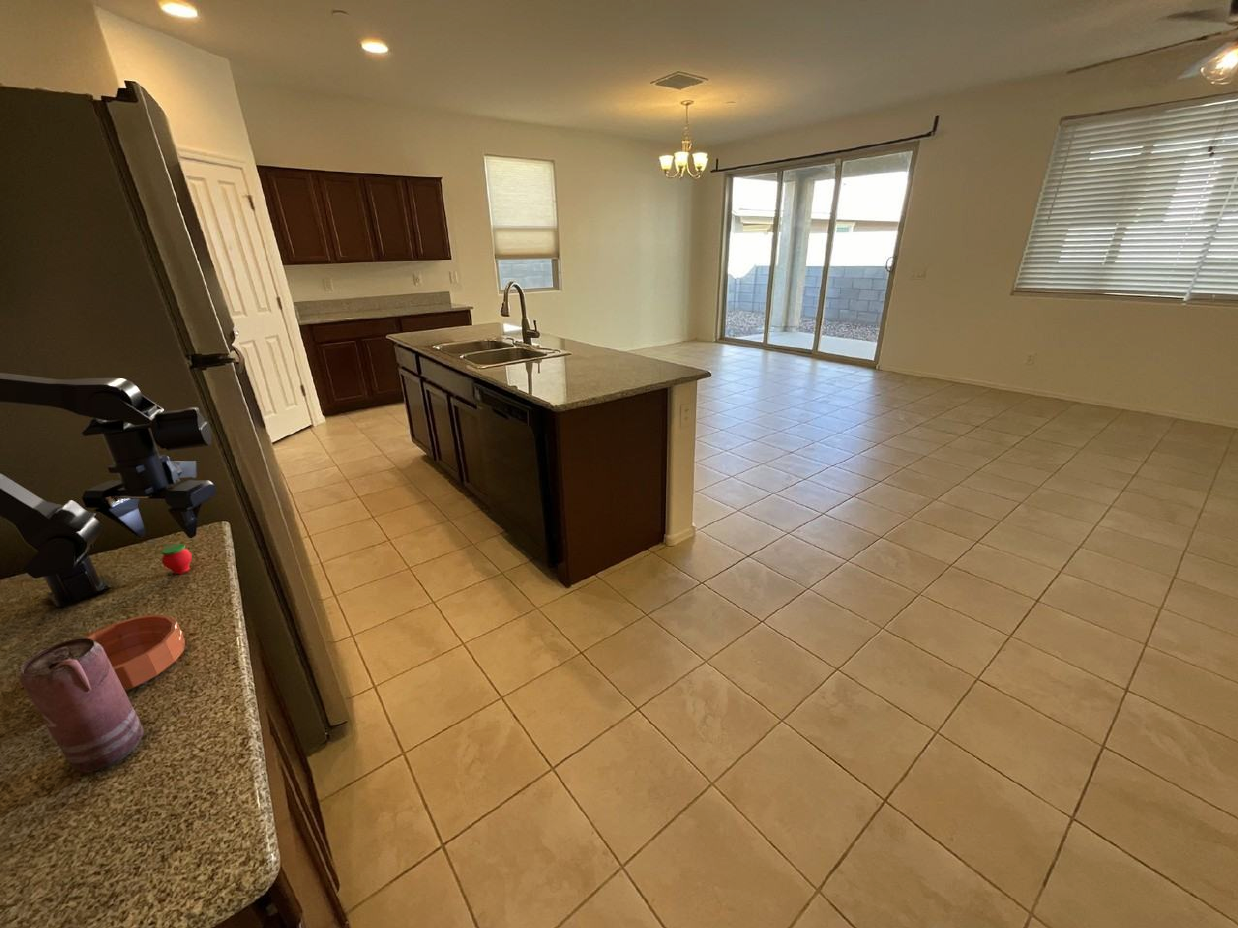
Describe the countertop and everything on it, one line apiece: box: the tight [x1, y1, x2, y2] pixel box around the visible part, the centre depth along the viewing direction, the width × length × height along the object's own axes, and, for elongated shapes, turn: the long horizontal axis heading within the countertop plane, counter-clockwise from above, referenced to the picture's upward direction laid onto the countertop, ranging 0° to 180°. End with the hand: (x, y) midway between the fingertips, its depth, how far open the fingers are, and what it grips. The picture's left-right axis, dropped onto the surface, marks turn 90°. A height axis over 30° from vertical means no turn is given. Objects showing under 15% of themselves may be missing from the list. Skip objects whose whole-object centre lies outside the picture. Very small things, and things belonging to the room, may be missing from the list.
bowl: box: [84, 613, 186, 692], centre depth 69 cm, size 12×12×4 cm
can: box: [18, 637, 145, 773], centre depth 55 cm, size 6×6×14 cm
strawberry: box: [161, 543, 193, 575], centre depth 91 cm, size 4×4×5 cm
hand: (167, 536), depth 90 cm, fingers open, 9 cm apart
